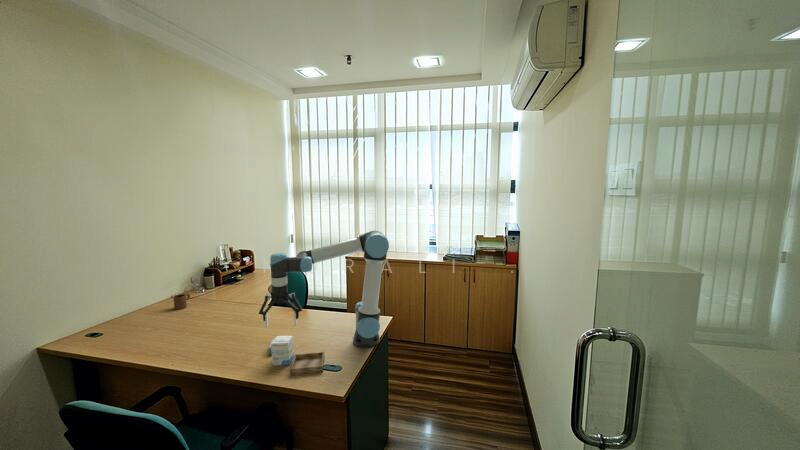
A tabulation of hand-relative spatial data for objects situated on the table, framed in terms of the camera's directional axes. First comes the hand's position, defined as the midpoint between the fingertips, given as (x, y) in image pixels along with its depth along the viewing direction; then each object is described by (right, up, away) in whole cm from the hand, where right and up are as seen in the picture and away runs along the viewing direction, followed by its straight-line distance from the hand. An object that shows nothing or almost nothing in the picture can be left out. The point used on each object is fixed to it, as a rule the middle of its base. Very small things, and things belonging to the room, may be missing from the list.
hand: (281, 325), depth 157 cm
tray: (+14, -19, -3) cm, 24 cm away
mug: (-103, -11, +77) cm, 129 cm away
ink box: (0, -19, +2) cm, 19 cm away
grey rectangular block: (-9, -17, +14) cm, 24 cm away
